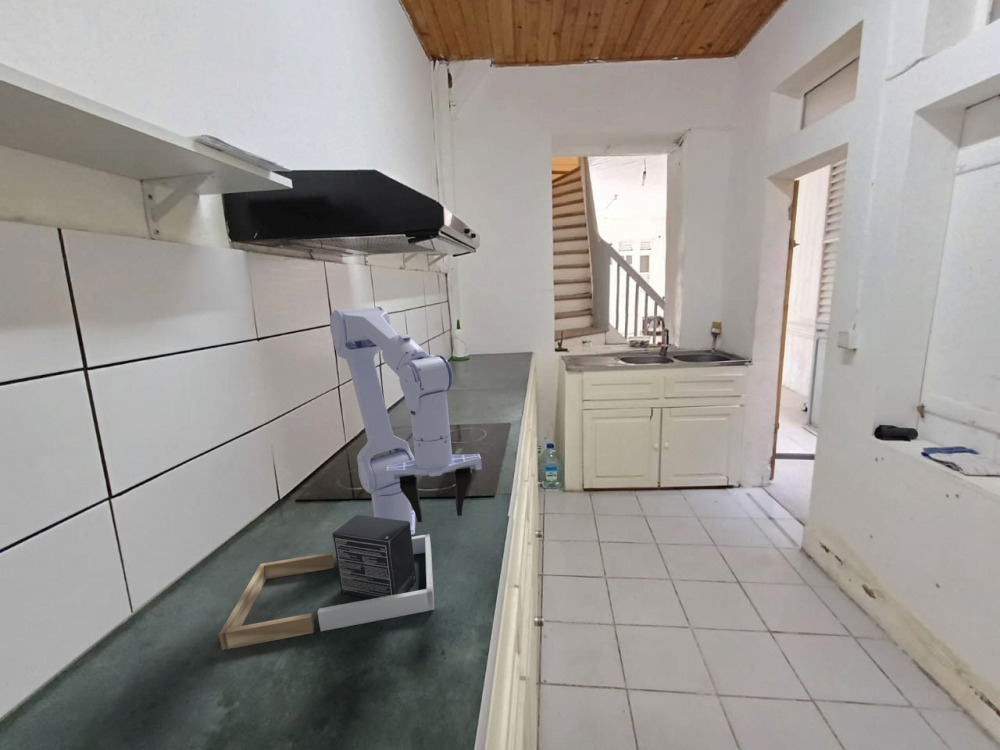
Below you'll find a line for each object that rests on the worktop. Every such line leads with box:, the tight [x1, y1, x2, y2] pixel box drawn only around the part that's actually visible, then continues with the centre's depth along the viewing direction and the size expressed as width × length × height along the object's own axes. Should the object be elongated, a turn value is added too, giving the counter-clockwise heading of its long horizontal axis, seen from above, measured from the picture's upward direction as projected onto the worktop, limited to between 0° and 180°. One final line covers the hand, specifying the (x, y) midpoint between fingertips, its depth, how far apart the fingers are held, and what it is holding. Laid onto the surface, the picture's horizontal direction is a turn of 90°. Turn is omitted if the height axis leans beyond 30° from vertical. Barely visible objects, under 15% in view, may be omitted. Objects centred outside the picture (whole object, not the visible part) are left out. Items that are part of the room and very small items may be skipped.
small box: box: [332, 514, 417, 600], centre depth 67 cm, size 11×6×10 cm, turn 71°
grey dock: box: [317, 533, 435, 632], centre depth 68 cm, size 16×16×3 cm
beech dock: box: [218, 551, 335, 651], centre depth 65 cm, size 16×12×2 cm
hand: (439, 515), depth 68 cm, fingers open, 6 cm apart
